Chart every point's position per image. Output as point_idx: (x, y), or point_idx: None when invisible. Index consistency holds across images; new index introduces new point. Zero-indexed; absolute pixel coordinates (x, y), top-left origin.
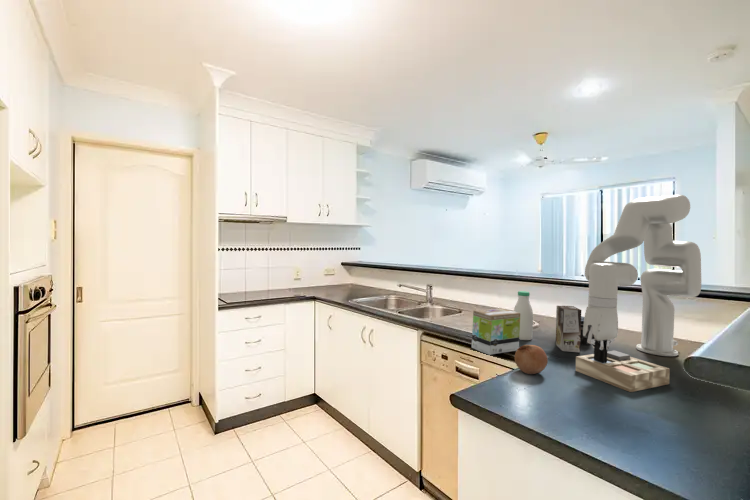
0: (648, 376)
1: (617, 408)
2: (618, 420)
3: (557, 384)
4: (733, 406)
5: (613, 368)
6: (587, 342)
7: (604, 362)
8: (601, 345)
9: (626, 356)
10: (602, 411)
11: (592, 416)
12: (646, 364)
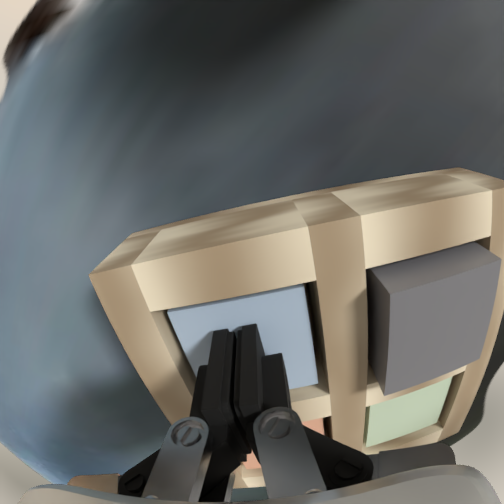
0: None
1: (119, 464)
2: (99, 474)
3: (14, 349)
4: None
5: None
6: (72, 479)
7: None
8: (203, 497)
9: (446, 369)
10: (83, 457)
11: (60, 456)
12: (452, 395)
